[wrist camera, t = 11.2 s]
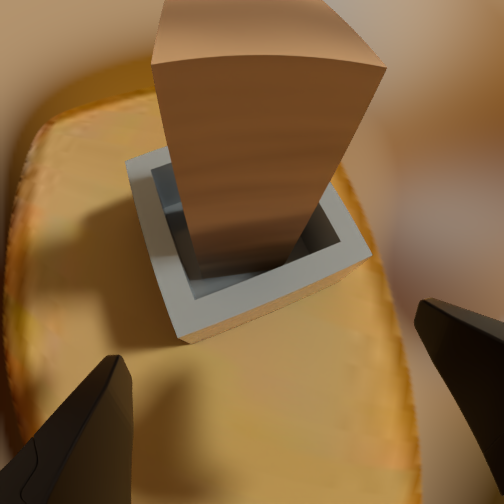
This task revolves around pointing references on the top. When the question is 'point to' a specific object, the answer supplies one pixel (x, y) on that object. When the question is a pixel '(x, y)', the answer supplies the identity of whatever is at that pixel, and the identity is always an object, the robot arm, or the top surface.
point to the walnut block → (257, 119)
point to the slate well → (240, 285)
